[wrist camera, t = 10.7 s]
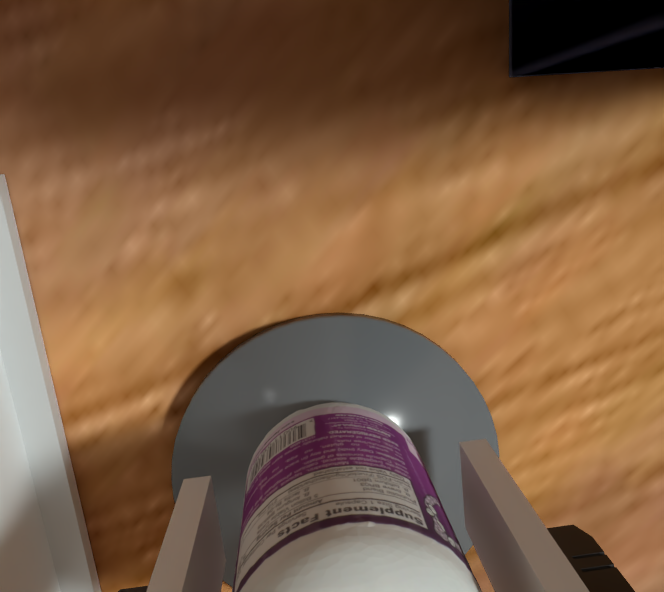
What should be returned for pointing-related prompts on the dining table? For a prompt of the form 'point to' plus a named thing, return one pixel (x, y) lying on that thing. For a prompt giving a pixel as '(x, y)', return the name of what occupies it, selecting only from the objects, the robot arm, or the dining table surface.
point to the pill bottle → (344, 510)
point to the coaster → (326, 387)
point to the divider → (33, 446)
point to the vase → (584, 36)
